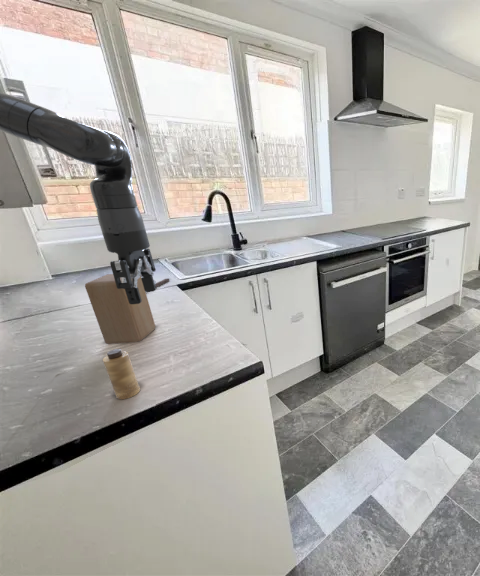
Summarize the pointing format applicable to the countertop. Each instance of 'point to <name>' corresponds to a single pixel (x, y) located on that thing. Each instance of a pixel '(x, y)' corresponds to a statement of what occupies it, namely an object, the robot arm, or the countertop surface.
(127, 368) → the pepper mill
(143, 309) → the block
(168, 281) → the kitchen knife
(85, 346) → the countertop surface
